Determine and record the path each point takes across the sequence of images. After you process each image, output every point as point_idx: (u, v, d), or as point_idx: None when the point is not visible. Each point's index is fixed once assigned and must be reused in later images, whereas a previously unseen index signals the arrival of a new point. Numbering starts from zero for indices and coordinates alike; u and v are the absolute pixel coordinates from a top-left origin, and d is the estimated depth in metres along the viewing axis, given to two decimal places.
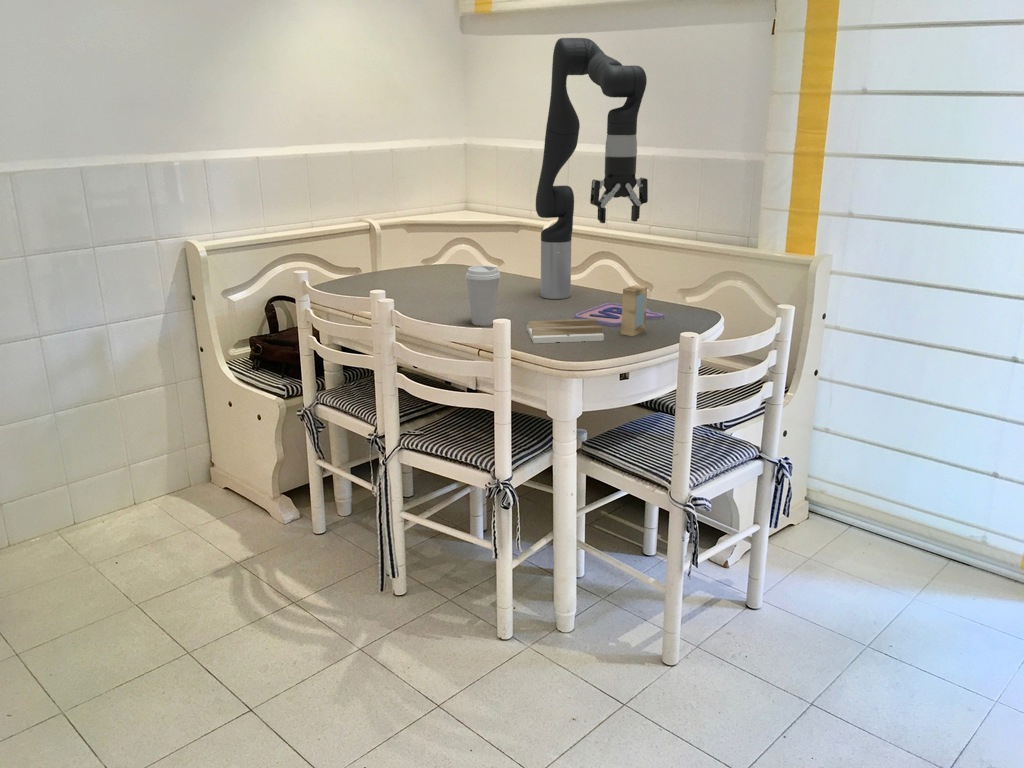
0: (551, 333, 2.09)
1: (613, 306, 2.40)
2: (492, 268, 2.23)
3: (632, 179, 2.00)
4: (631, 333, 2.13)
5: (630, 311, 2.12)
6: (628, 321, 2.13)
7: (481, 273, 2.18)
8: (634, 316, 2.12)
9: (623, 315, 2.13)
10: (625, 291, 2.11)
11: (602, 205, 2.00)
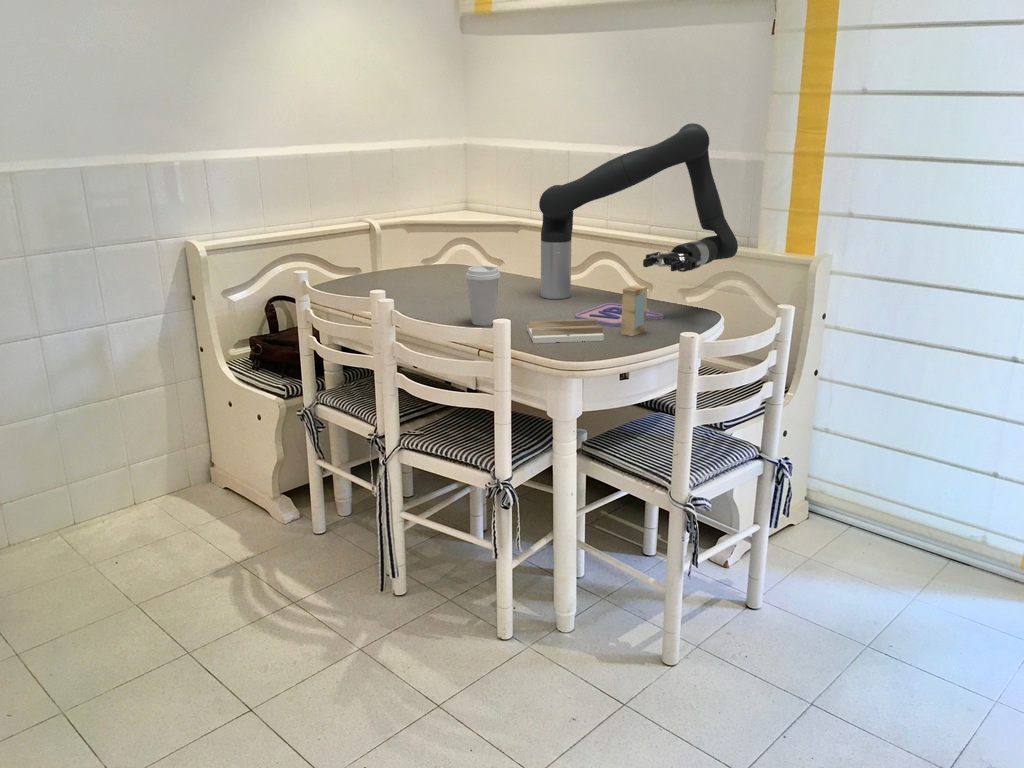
0: (551, 333, 2.09)
1: (613, 306, 2.40)
2: (492, 268, 2.23)
3: None
4: (631, 333, 2.13)
5: (630, 311, 2.12)
6: (628, 321, 2.13)
7: (481, 273, 2.18)
8: (634, 316, 2.12)
9: (623, 315, 2.13)
10: (625, 291, 2.11)
11: (682, 269, 2.19)
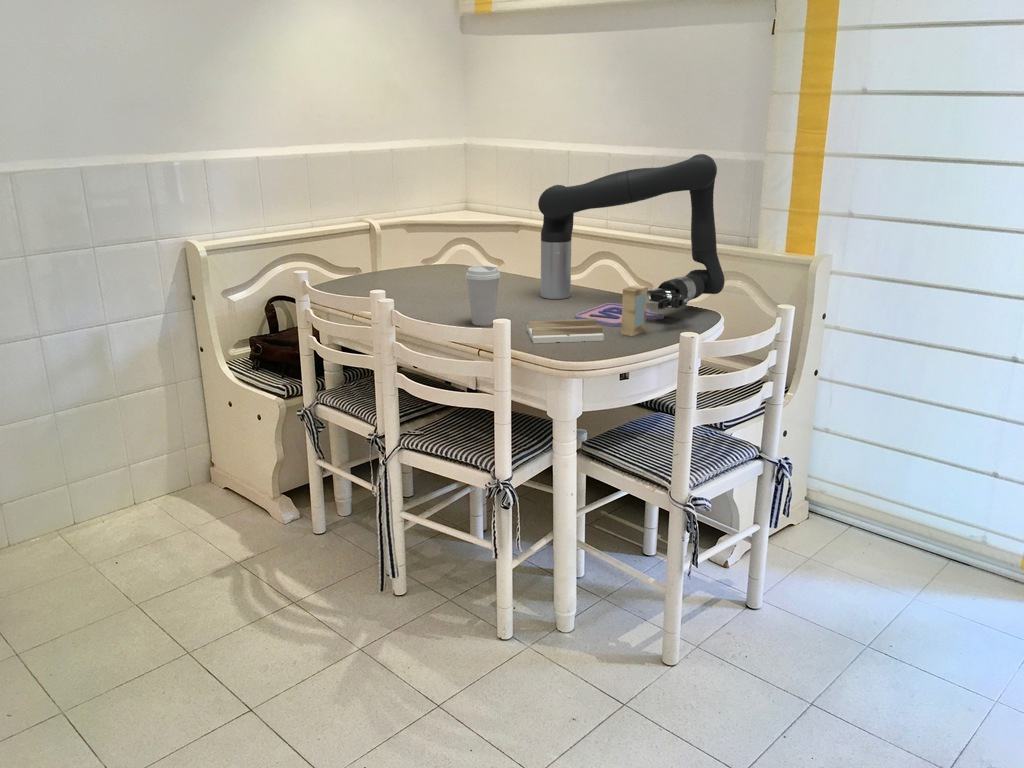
0: (551, 333, 2.09)
1: (613, 306, 2.40)
2: (492, 268, 2.23)
3: None
4: (631, 333, 2.13)
5: (630, 311, 2.12)
6: (628, 321, 2.13)
7: (481, 273, 2.18)
8: (634, 316, 2.12)
9: (623, 315, 2.13)
10: (625, 291, 2.11)
11: None
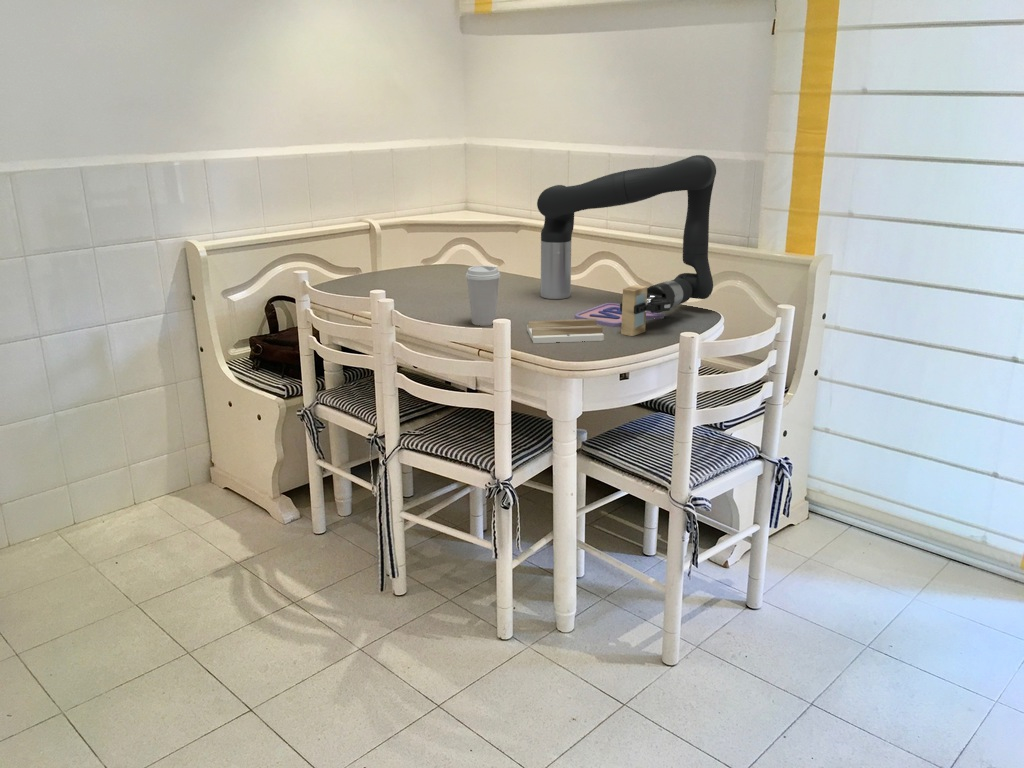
0: (551, 333, 2.09)
1: (613, 306, 2.40)
2: (492, 268, 2.23)
3: None
4: (631, 333, 2.13)
5: (630, 311, 2.12)
6: (628, 321, 2.13)
7: (481, 273, 2.18)
8: (634, 316, 2.12)
9: (623, 315, 2.13)
10: (625, 291, 2.11)
11: (646, 311, 2.14)
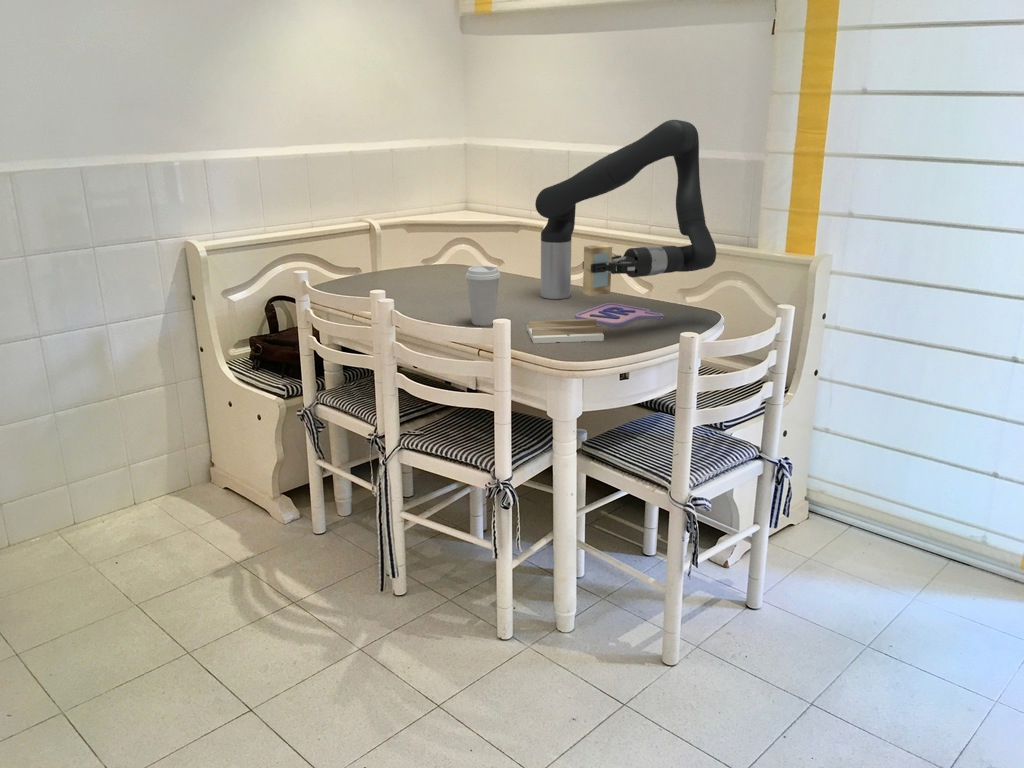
0: (551, 333, 2.09)
1: (613, 306, 2.40)
2: (492, 268, 2.23)
3: None
4: (589, 292, 2.08)
5: (588, 270, 2.06)
6: (587, 280, 2.08)
7: (481, 273, 2.18)
8: (592, 275, 2.06)
9: (584, 273, 2.09)
10: (585, 248, 2.06)
11: None
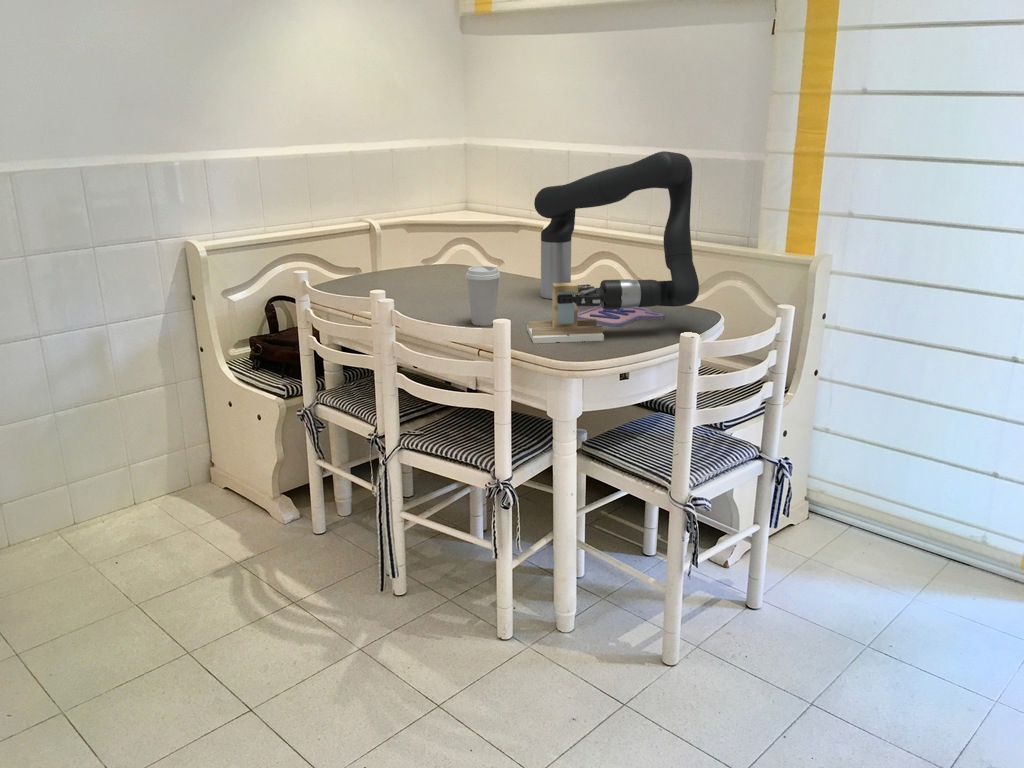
0: (551, 333, 2.09)
1: None
2: (492, 268, 2.23)
3: None
4: None
5: (553, 306, 2.10)
6: (553, 316, 2.12)
7: (481, 273, 2.18)
8: (556, 312, 2.10)
9: (552, 310, 2.13)
10: (553, 286, 2.11)
11: (575, 304, 2.08)
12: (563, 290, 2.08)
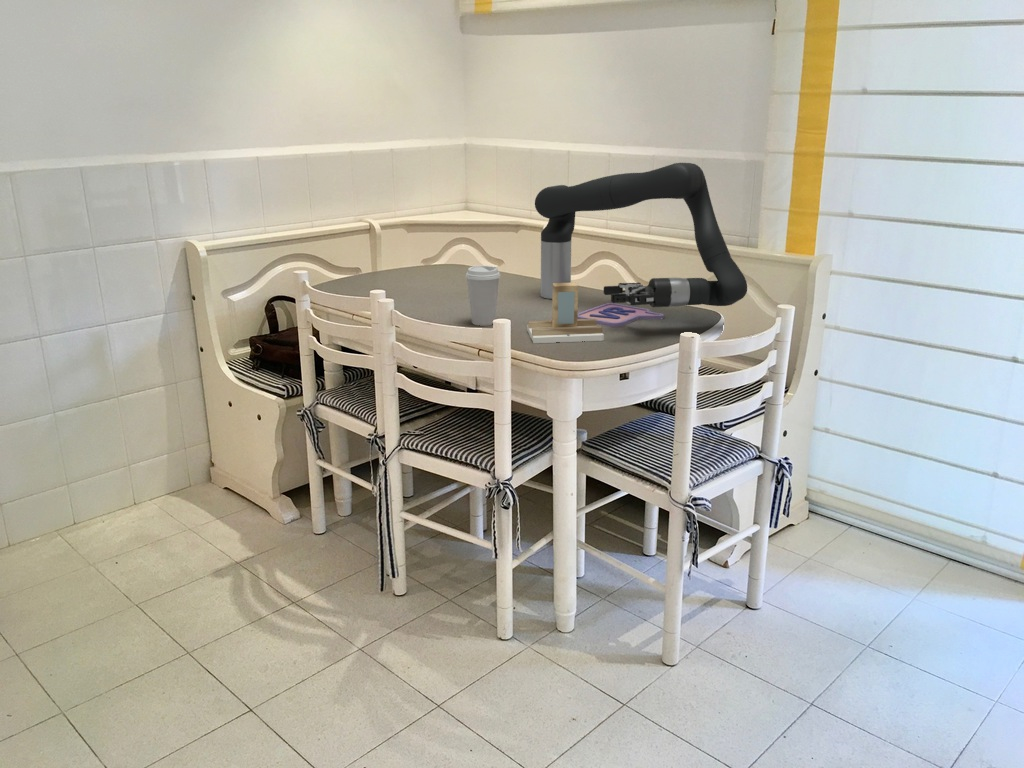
0: (551, 333, 2.09)
1: (613, 306, 2.40)
2: (492, 268, 2.23)
3: None
4: None
5: (553, 306, 2.10)
6: (553, 316, 2.12)
7: (481, 273, 2.18)
8: (556, 312, 2.10)
9: (552, 310, 2.13)
10: (553, 286, 2.11)
11: None
12: (563, 290, 2.08)
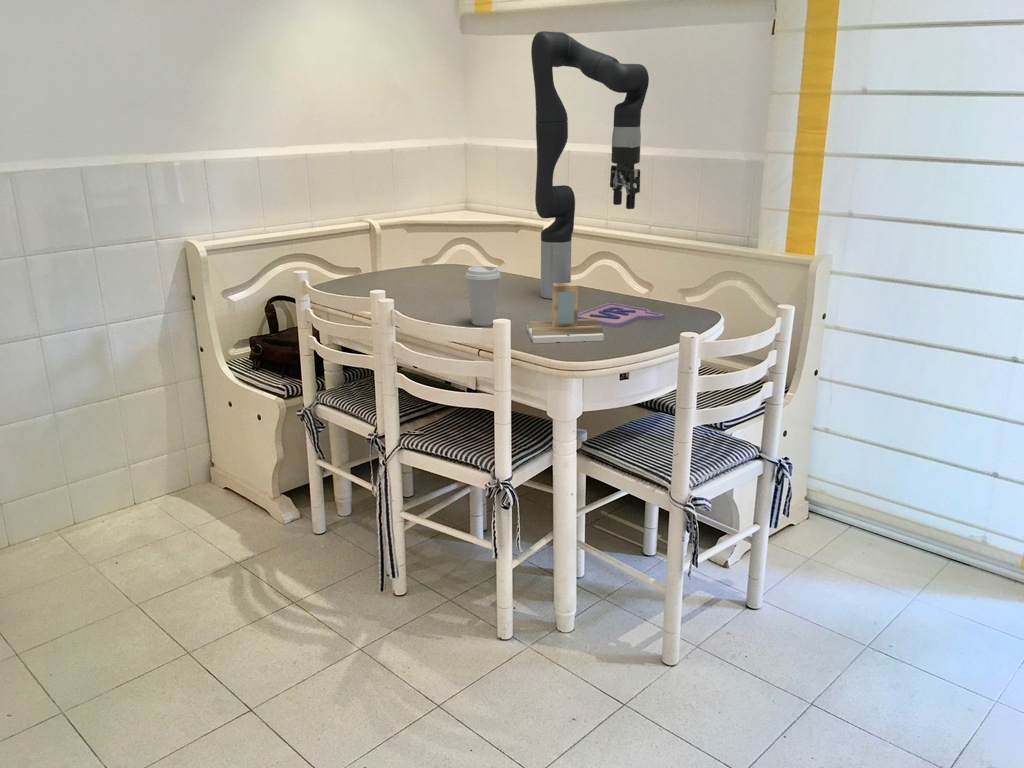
0: (551, 333, 2.09)
1: (613, 306, 2.40)
2: (492, 268, 2.23)
3: None
4: None
5: (553, 306, 2.10)
6: (553, 316, 2.12)
7: (481, 273, 2.18)
8: (556, 312, 2.10)
9: (552, 310, 2.13)
10: (553, 286, 2.11)
11: None
12: (563, 290, 2.08)
